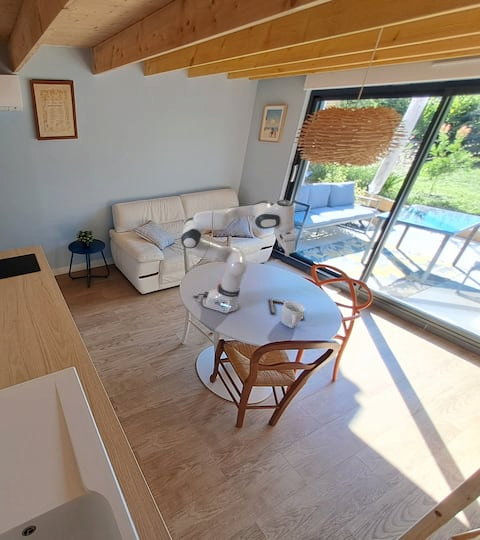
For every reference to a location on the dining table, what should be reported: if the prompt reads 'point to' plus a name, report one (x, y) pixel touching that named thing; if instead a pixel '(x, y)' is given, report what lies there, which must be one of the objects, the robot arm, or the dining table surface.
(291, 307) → the mug
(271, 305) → the bay rails
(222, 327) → the dining table surface
